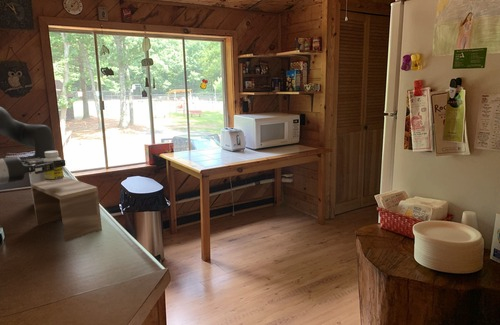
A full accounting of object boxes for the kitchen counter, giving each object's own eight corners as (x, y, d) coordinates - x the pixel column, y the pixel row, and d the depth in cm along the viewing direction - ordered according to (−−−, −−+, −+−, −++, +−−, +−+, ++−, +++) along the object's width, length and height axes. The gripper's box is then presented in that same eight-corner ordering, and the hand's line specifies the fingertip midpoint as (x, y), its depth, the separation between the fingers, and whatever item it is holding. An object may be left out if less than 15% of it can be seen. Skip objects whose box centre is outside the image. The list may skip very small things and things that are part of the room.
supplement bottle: (56, 182, 116) (52, 153, 114) (41, 182, 117) (37, 152, 115) (67, 178, 121) (64, 150, 119) (53, 177, 123) (50, 149, 120)
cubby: (37, 224, 128) (30, 183, 124) (70, 215, 137) (65, 176, 134) (66, 241, 114) (60, 196, 110) (102, 229, 123) (97, 187, 119)
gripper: (9, 162, 102) (69, 152, 115) (-8, 155, 111) (50, 148, 124) (13, 187, 104) (72, 175, 116) (-4, 179, 113) (53, 169, 125)
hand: (60, 161), depth 120 cm, fingers closed on supplement bottle, 5 cm apart
